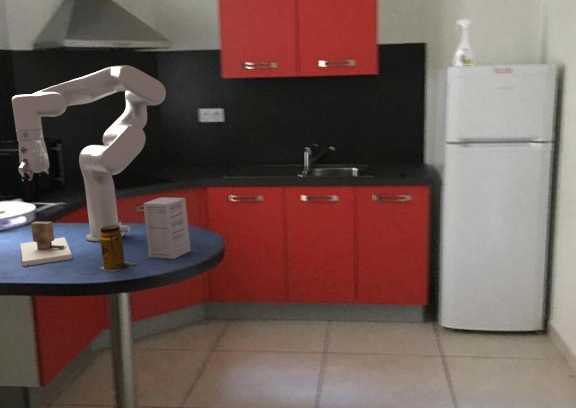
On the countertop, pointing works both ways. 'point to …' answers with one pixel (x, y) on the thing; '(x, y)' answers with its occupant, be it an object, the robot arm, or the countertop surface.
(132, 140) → the robot arm
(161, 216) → the supplement box
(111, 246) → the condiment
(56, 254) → the white rectangular slab
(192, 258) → the countertop surface
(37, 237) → the brown piece
